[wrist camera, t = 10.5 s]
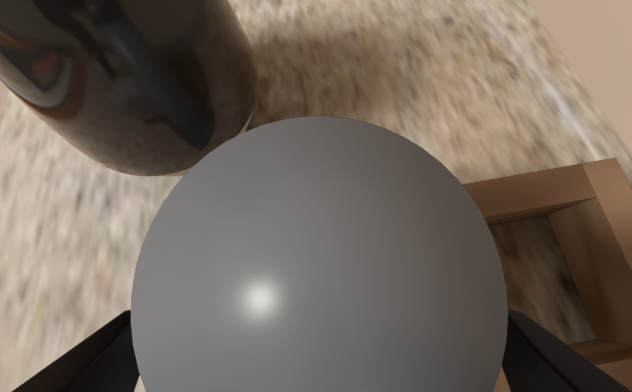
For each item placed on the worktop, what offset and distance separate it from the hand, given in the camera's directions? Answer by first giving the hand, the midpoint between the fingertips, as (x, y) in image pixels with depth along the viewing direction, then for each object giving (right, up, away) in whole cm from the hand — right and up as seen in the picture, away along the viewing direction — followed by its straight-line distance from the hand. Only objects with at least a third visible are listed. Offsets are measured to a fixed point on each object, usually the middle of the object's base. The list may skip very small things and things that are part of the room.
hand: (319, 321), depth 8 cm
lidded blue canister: (0, -2, +9) cm, 9 cm away
